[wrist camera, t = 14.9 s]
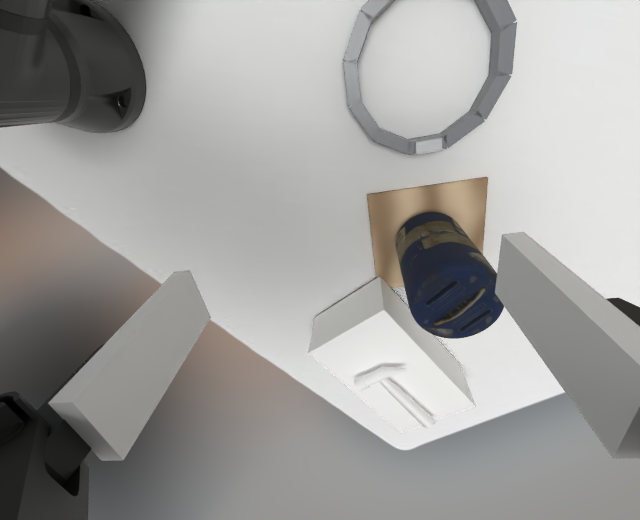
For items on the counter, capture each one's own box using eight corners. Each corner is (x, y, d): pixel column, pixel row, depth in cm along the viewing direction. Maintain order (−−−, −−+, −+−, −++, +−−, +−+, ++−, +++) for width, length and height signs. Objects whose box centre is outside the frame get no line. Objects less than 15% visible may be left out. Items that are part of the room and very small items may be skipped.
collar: (355, 159, 41) (355, 164, 38) (335, -7, 33) (333, -18, 30) (497, 136, 38) (509, 139, 35) (513, -55, 30) (530, -72, 27)
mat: (377, 286, 51) (377, 288, 50) (367, 194, 44) (367, 195, 43) (479, 277, 48) (480, 279, 47) (486, 176, 41) (487, 177, 40)
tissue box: (379, 275, 49) (385, 320, 39) (460, 364, 57) (480, 420, 47) (314, 317, 55) (305, 364, 45) (395, 392, 62) (402, 446, 53)
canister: (471, 246, 45) (532, 326, 29) (414, 276, 48) (441, 363, 33) (440, 195, 42) (489, 253, 26) (381, 231, 45) (394, 302, 30)
